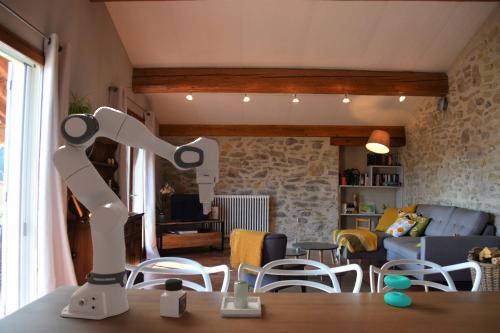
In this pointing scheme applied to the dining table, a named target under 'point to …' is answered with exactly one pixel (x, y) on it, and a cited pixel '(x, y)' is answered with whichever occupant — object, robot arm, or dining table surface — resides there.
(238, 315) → the grey tray
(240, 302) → the sage cup
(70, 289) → the dining table surface
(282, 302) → the dining table surface
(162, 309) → the medicine bottle
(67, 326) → the dining table surface
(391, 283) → the donuts
